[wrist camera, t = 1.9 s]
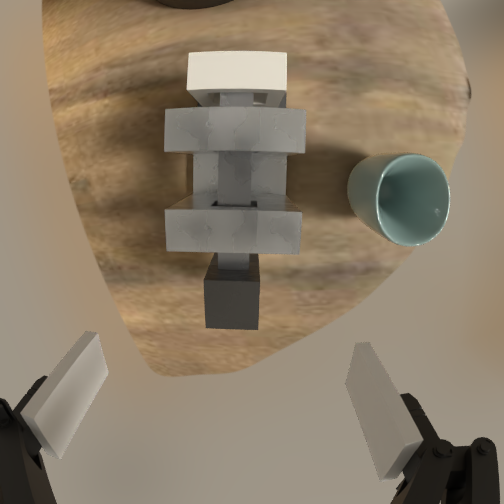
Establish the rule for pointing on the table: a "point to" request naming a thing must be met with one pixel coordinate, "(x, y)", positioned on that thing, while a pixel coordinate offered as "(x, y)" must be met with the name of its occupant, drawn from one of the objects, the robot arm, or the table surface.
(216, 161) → the bearing block
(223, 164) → the shaft
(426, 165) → the cup
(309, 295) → the table surface
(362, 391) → the robot arm
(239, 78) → the block
